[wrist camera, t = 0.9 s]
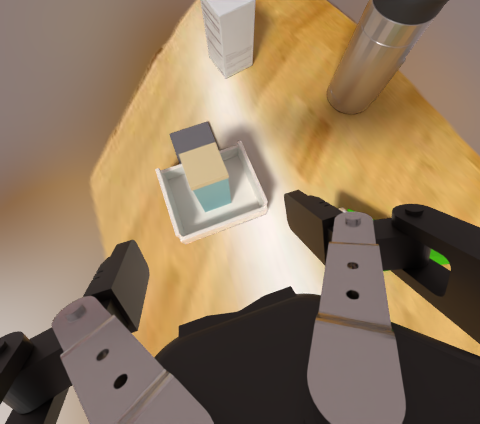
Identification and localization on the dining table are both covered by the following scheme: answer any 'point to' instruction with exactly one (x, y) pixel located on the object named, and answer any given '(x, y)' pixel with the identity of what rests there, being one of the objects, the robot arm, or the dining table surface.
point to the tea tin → (207, 176)
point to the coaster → (192, 138)
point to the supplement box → (229, 33)
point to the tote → (207, 223)
